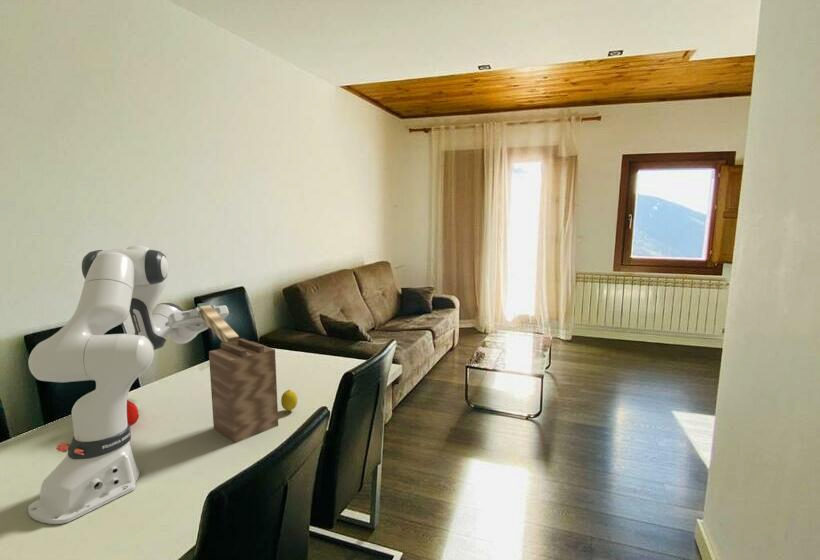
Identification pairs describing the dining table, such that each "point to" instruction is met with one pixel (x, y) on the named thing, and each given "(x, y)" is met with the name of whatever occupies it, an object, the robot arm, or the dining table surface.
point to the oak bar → (218, 324)
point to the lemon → (289, 400)
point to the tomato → (132, 413)
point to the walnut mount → (243, 389)
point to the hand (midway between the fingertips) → (206, 308)
